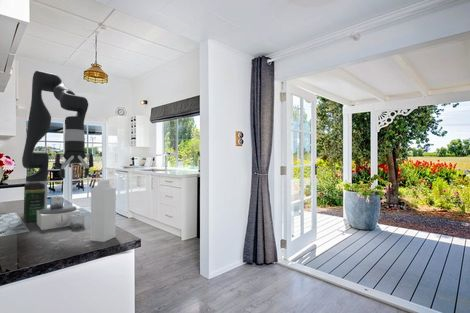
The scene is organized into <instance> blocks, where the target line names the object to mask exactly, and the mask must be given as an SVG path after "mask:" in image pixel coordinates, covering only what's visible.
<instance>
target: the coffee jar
mask: <svg viewBox="0 0 470 313" xmlns="http://www.w3.org/2000/svg"><path fill="white" fill-rule="evenodd" d="M23 192H24V193H23V221H24V222H25V223H37V210H41V209H44V208H45V184H44V183H41V182H38V181H33V182H29V183H27V184H26V183H25V184H24V188H23Z"/></svg>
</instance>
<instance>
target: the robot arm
mask: <svg viewBox="0 0 470 313" xmlns="http://www.w3.org/2000/svg"><path fill="white" fill-rule="evenodd" d="M32 75H33V76H32V80H31V81H32V82H31V83H32V85H31V101H30V108H29V114H28V115H29V116H28V118H27V119H28V120H27V129H26V138H25V139H26V140H25V144H24V148H23V153H22V157H21V159H22V160H21V165H22V167H23V168H24V169H38V170H37V171H36V172H34V173H31V174H28V175H26V177H25V184H27V183H29V182H33V181H38V182H41V183H44V184H45V208H48V175H49V161H50V158H49V157H50V156H49V153H48V152H47V151H46V150H34V149H35V148H36V146H37V144H38V143H39V142H40V140H42V139H43V138H44V137H45V136H46V135H47V134H48V133H49V131H50V130H51V124H52V123H51V122H52V115H51V113H50V111H49V109H48V107H47V106H46V105H45V103H44V100H43V96H42V92H49V93H53V94H52V95H53V97H54V98H55V99H56V100H57V101H58V102H59V105H60V107H61V109H63V110H65V111H70V112H76V114H75V115H69V116H66V117H65V119H64V152H63V153H55V158H54V160H55V161H54V168H56V169H59V170H60V172H59V177H61V178H62V179H65V178H66V167H67V166H68V165H69V164H70V165H72V164H80V165H81V166H83V168H84V170H83V171H84V172H83V173H84V178H88V176H89V175H90V169H91V168H93V167H94V155H93V153H86V152H85V150H86V148H85V147H86V145H85V144H86V143H85V142H86V137H85V118H86V115H87V111H88V109H89V102H88V99H87V98H86V97H85V96H82V95H76V94H75V92H73V91H72V90H71V89H70V88H69V87H67V85H66V84H65V82H64V81H63V79H62V78H61V77H60V76H59V75H57V74H55V73H51V72H46V71H42V70H36V71H34V73H33V74H32ZM63 158H64V159H65V161H64V162H63V163H61V165H60V162H61V159H63ZM85 158H86V159H88V163H87V162H86V161H85Z"/></svg>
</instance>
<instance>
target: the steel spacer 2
mask: <svg viewBox="0 0 470 313" xmlns="http://www.w3.org/2000/svg"><path fill="white" fill-rule="evenodd" d="M84 227H85V214H81V213H80V214H79V215H72V216H71V226H70V229H73V230H75V229H77V228H78V229H82V228H84ZM78 229H77V230H78Z"/></svg>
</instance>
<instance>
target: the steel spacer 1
mask: <svg viewBox="0 0 470 313" xmlns="http://www.w3.org/2000/svg"><path fill="white" fill-rule="evenodd" d="M49 204H50V205H49V207H50V209H59V208H63V206H64V196H62V195H58V196H57V195H55V196H50V199H49Z"/></svg>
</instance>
